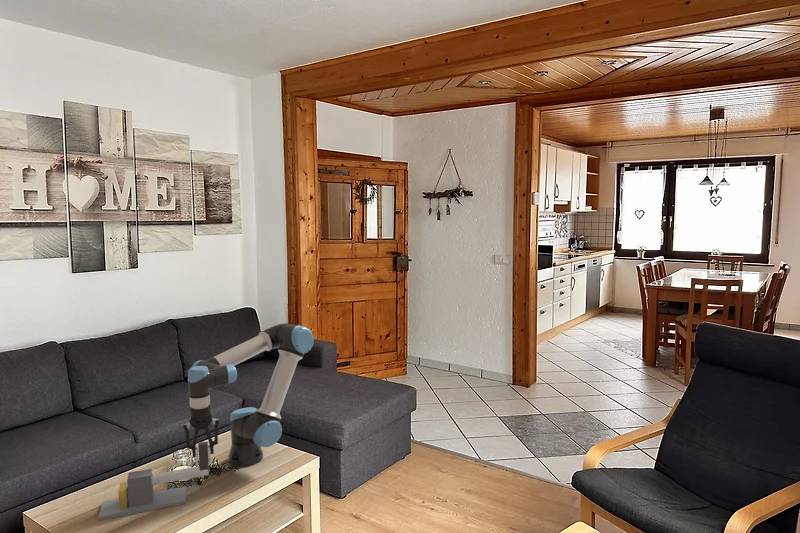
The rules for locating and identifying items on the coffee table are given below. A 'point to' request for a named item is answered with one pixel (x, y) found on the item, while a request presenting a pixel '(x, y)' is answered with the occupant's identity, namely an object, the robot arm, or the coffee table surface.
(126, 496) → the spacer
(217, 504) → the coffee table surface
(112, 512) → the bracket
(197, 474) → the shaft
